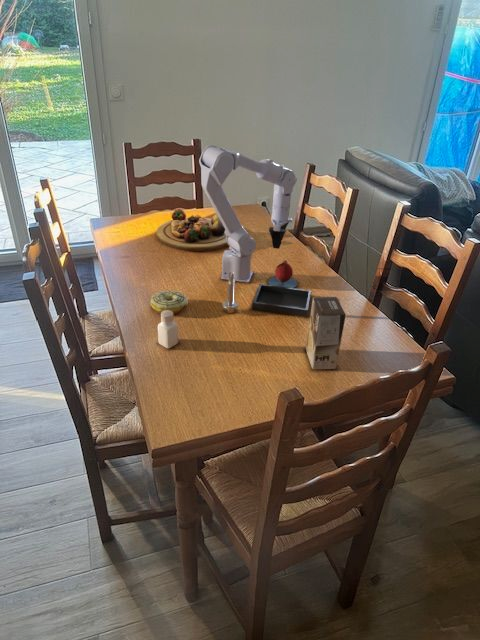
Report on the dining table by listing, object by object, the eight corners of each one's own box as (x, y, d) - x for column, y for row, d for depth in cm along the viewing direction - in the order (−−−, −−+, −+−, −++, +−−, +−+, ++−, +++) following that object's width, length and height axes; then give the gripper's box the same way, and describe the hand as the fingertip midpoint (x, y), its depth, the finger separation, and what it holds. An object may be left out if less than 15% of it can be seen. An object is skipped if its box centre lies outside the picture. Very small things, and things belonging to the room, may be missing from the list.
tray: (252, 309, 141) (252, 302, 140) (259, 290, 152) (259, 283, 150) (306, 317, 139) (307, 310, 137) (310, 297, 149) (311, 290, 148)
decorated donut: (194, 307, 141) (194, 296, 139) (166, 320, 134) (166, 309, 132) (171, 295, 146) (171, 284, 144) (144, 307, 140) (143, 296, 138)
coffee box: (336, 369, 118) (347, 315, 109) (311, 370, 117) (320, 315, 109) (327, 348, 126) (337, 296, 117) (304, 348, 125) (311, 296, 116)
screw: (240, 314, 139) (224, 315, 137) (235, 306, 142) (220, 307, 141) (241, 274, 132) (225, 276, 130) (237, 267, 135) (221, 268, 134)
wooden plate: (147, 227, 194) (145, 207, 190) (217, 218, 206) (218, 200, 202) (170, 257, 170) (170, 236, 165) (249, 245, 182) (250, 225, 177)
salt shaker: (168, 337, 127) (167, 307, 122) (179, 343, 125) (178, 313, 119) (157, 344, 124) (155, 313, 119) (168, 350, 122) (166, 319, 117)
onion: (290, 287, 153) (293, 265, 149) (273, 285, 154) (275, 263, 150) (292, 279, 158) (294, 257, 154) (275, 277, 159) (277, 255, 155)
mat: (266, 288, 153) (266, 287, 153) (270, 275, 161) (270, 274, 161) (295, 292, 151) (295, 291, 151) (298, 279, 159) (298, 278, 159)
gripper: (290, 213, 147) (286, 253, 154) (295, 199, 159) (291, 237, 166) (268, 211, 148) (265, 250, 155) (275, 197, 160) (272, 235, 167)
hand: (277, 243), depth 161 cm, fingers open, 7 cm apart
